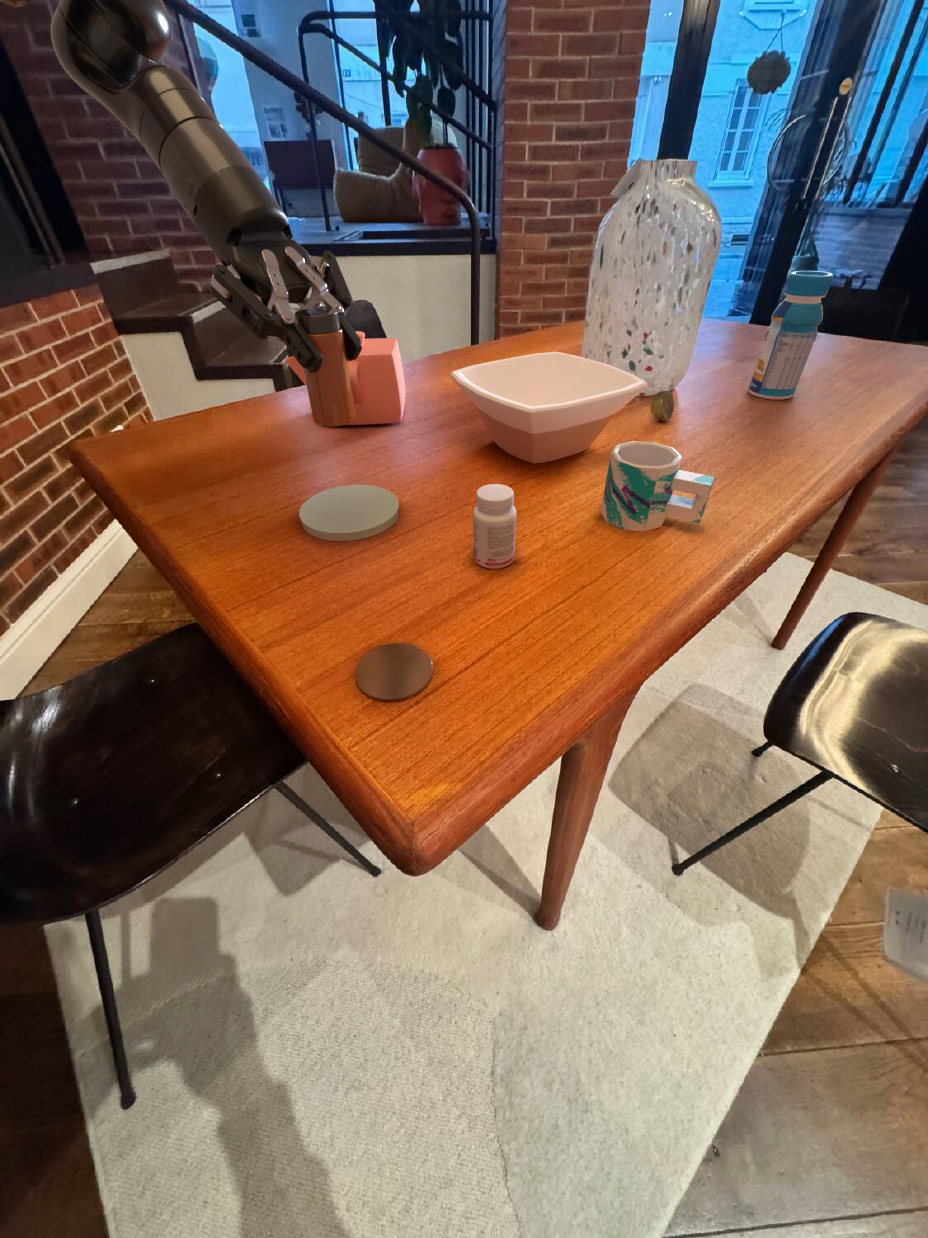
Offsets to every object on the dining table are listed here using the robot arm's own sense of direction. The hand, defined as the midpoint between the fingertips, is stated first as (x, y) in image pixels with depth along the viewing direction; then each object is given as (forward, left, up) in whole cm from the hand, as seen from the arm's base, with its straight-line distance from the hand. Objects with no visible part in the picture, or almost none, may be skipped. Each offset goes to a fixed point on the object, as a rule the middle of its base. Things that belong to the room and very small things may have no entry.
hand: (336, 360), depth 51 cm
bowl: (+34, +17, -21) cm, 43 cm away
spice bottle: (-1, +2, -6) cm, 6 cm away
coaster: (-3, -23, -21) cm, 31 cm away
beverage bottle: (+87, +20, -21) cm, 92 cm away
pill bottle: (+13, -10, -21) cm, 26 cm away
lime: (+59, +18, -21) cm, 65 cm away
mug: (+35, -10, -21) cm, 42 cm away
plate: (0, +7, -21) cm, 22 cm away
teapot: (+9, +44, -21) cm, 50 cm away
